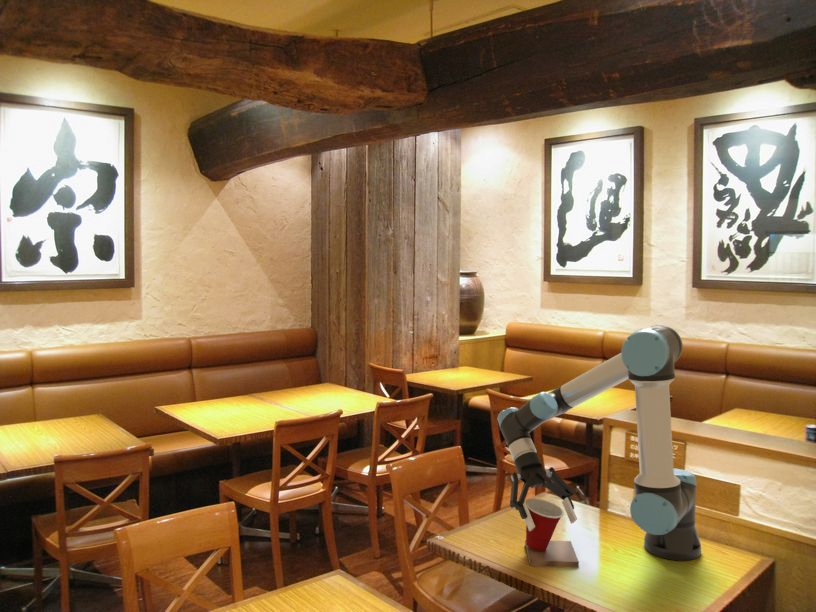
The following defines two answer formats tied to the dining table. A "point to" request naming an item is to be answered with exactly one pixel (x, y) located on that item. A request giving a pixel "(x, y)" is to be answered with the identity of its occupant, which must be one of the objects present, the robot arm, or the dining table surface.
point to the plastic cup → (542, 523)
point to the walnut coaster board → (554, 555)
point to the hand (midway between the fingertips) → (553, 525)
